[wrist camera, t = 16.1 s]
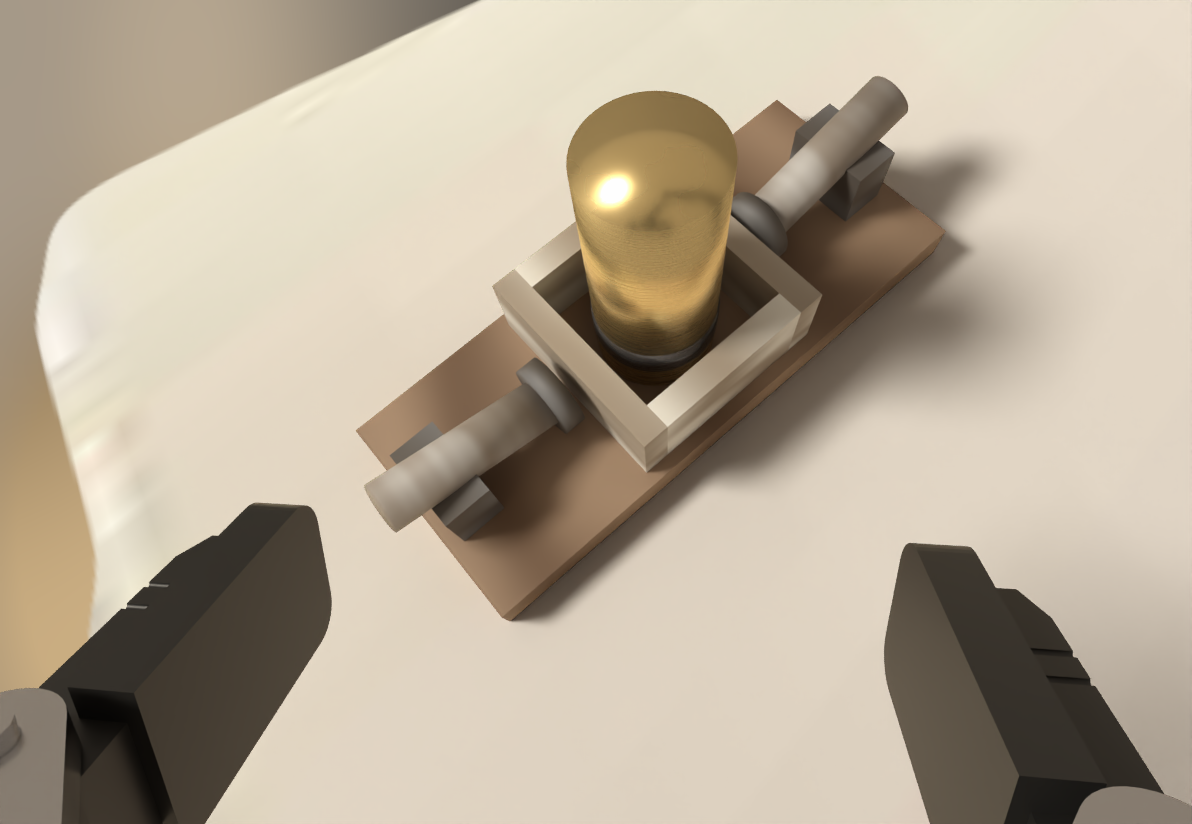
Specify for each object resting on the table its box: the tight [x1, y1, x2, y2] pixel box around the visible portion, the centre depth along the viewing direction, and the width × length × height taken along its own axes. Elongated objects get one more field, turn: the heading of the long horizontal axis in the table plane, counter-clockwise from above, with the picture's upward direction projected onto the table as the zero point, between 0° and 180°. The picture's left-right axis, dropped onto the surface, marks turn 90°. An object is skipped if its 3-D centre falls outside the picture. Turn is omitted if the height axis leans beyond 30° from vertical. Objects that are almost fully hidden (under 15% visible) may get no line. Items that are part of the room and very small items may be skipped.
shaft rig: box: [356, 76, 946, 621], centre depth 28 cm, size 24×9×6 cm, turn 130°
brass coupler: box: [566, 91, 738, 386], centre depth 24 cm, size 4×4×10 cm
